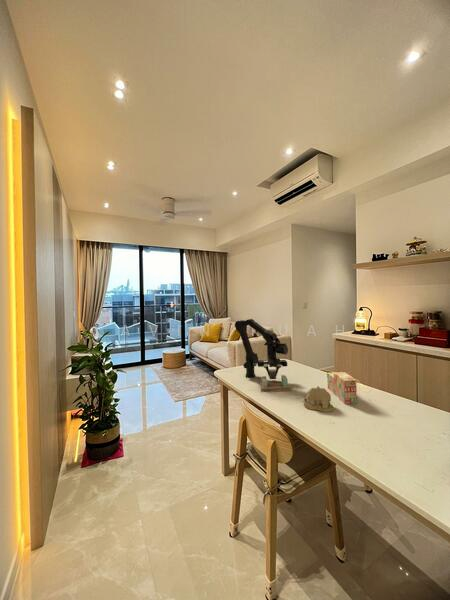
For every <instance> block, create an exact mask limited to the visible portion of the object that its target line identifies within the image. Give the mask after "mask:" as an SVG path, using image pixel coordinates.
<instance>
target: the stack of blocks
mask: <svg viewBox="0 0 450 600" xmlns="http://www.w3.org/2000/svg"><path fill="white" fill-rule="evenodd" d="M326 376H327V377H326V378H327V380H326V381H327V389H328V390H329V391H330V392H331V393H332V394H333V395H334V396H336V397H337V398H338V399H339V401H341V402H342V403H343V404H344V405H353V404H354V403H357V400H358V399H357V380H356V379H355V378H354V377H353V376H351V375H350V374H349V373H347V372H345V371H343V372H342V371H340V372H335V371H334V372H333V371H332V372H327V373H326ZM354 405H355V404H354Z"/></svg>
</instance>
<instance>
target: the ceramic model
mask: <svg viewBox="0 0 450 600" xmlns="http://www.w3.org/2000/svg"><path fill="white" fill-rule="evenodd" d="M331 397H332V395H331V394H330V392H328V390H326V388H323V387H321V388H320V386H316V387H311V388H310V389H308V390H307V395H306V397H303V398H302V399H303V402H302V403H303V406H304V407H305V408H306V409H309V410H315V411H321V412H326V413H328V412H333V411H335V407H334V406H333V405H332V404H331V401H332V398H331Z"/></svg>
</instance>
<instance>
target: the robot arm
mask: <svg viewBox="0 0 450 600" xmlns="http://www.w3.org/2000/svg"><path fill="white" fill-rule="evenodd" d="M248 327H250V328H251V329H253V330H254V331H255V332H257V333H258V334H260V335H261V337H262V338H263V339H264V340H265V343H263V345H264V346H266V353H267V357H266V358H267V361H264V359H262V360H260V359H259V357H258V353H255V352H254V351H253V348H252V345H251V341H250V338H249V334H248V332H247V331H248ZM234 328H235V330H236V332H238V333H239V335H240V338H241V343H242V345H243V348H244V351H245V362H244V363H243V365H242V366H243V368H244V369H245V372H246V373H245V377H246V378H256V372H255V367H259V368H264V369H265V370H266V373H267V375H268V377H269V367H270V368H275V371H276V377H277V376H278V373H279V370H280V369H281V368H282V367H288V362H287V360H286V359H280V358H277V354H279V355H288V352H289V348H288V345H287V343H286V342H284V343H283V342H282V343H281V341H280V339H279V338H278V334H276V333H275V332H274V331H271V330H269V329H266V328H264V327H263V326H262V325H260V324H259V323H258V322H256V321H255V320H254V319H252V318H248V319H246V320H245V319H244V320H242V319H241V320H236V321H235V323H234Z"/></svg>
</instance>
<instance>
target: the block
mask: <svg viewBox="0 0 450 600" xmlns="http://www.w3.org/2000/svg"><path fill="white" fill-rule="evenodd" d="M268 369H269V368H268ZM275 370H276V368H275V369H269V376H268V378H269V380H277V376H276V371H275Z"/></svg>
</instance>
